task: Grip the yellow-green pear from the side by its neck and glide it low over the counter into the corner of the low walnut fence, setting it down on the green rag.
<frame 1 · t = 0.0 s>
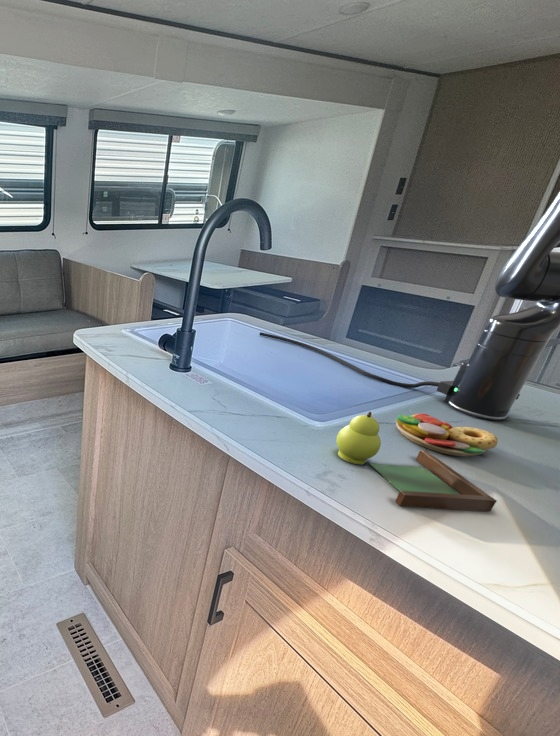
corner fence: (477, 506, 62), on the countertop
toy food set: (436, 441, 80), on the countertop
pear: (351, 457, 73), on the countertop
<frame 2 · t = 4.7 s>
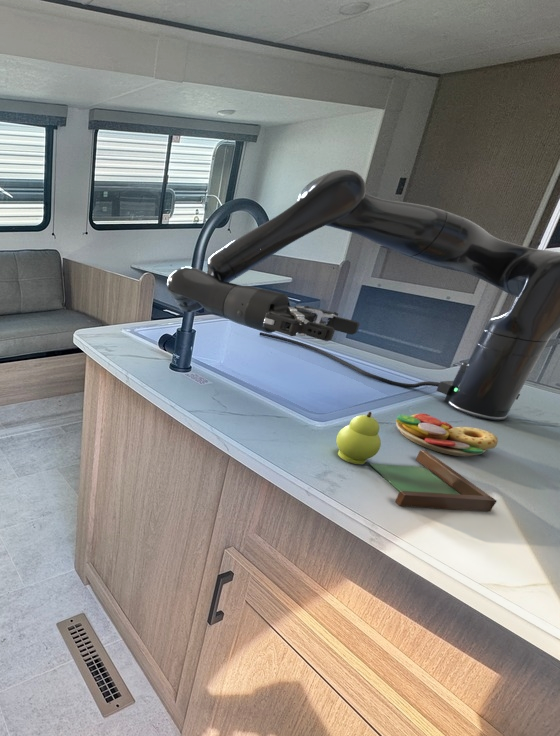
hand: (345, 331, 70), 20 cm above the countertop, tool horizontal, fingers open, 8 cm apart
nothing on the countertop moved.
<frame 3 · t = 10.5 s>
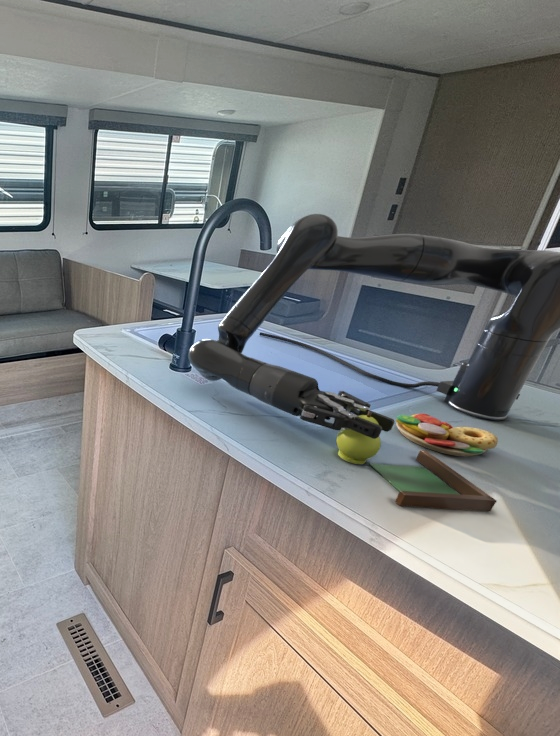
hand: (385, 429, 68), 7 cm above the countertop, tool horizontal, fingers closed on pear, 4 cm apart
pear: (351, 457, 73), on the countertop, touching gripper
everything else where it was.
when the fingers open (7 cm above the countertop, at t = 14.5 s): pear stays where it is, resting on corner fence.
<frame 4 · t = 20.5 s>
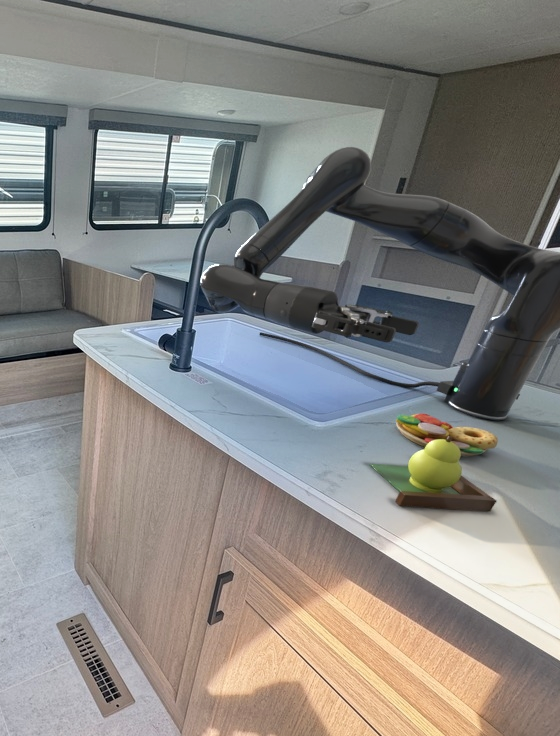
hand: (405, 332, 65), 22 cm above the countertop, tool horizontal, fingers open, 8 cm apart
pear: (425, 485, 66), resting on corner fence
everything else where it was.
at the end: pear 0.3 cm from the target spot on the corner fence, point 0.2 cm above the corner fence's base; pear tilted 0°; the gripper is holding nothing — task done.
